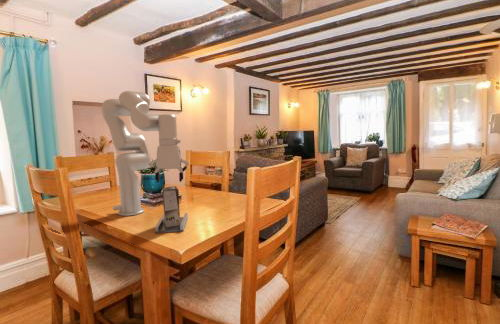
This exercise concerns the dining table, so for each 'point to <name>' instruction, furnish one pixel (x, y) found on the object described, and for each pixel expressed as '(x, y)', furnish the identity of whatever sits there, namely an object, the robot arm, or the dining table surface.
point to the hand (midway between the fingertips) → (169, 181)
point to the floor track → (163, 229)
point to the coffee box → (171, 206)
